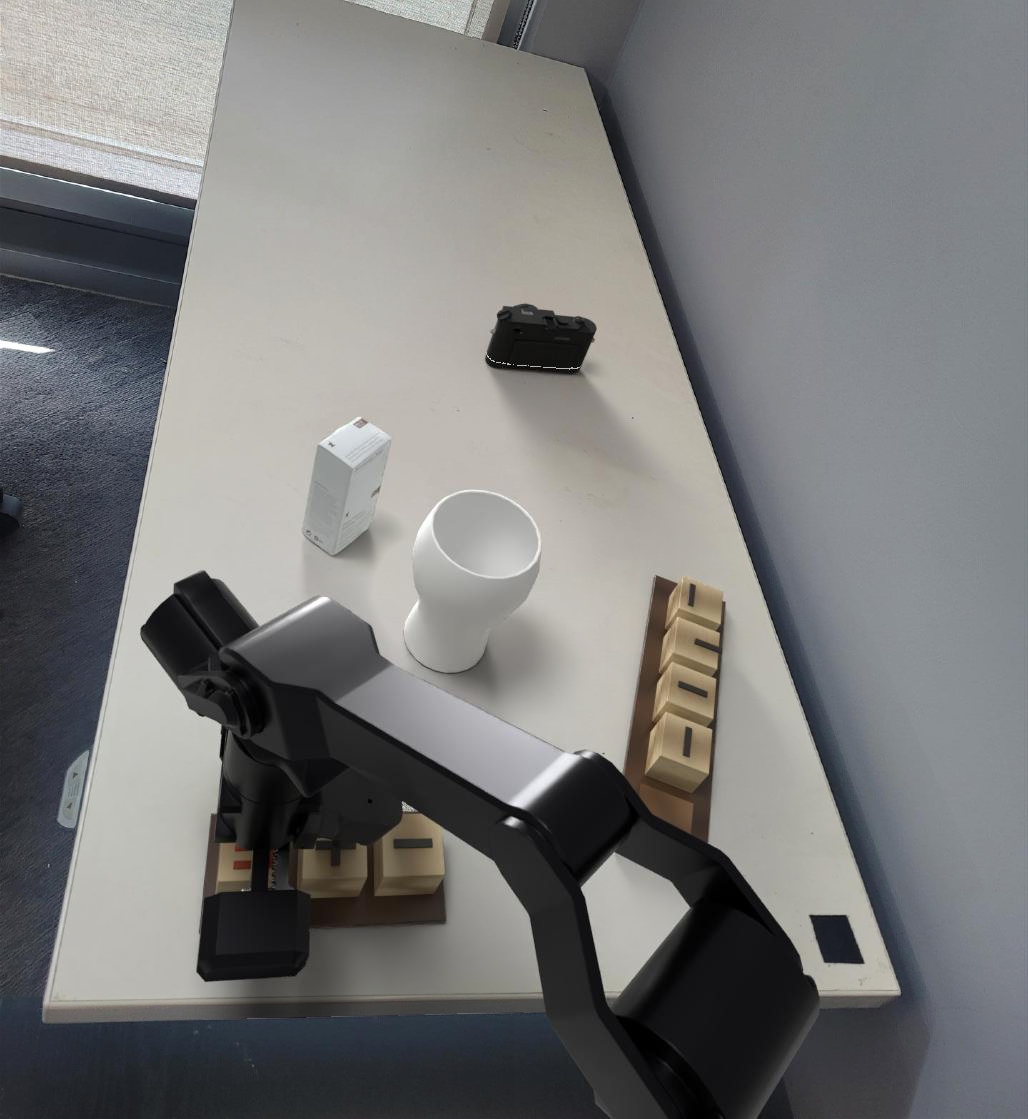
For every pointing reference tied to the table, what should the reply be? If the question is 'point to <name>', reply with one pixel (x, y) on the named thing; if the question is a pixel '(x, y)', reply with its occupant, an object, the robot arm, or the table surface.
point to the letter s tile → (236, 868)
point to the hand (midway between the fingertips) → (251, 864)
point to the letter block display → (677, 704)
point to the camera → (539, 340)
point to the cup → (469, 576)
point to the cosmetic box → (345, 485)
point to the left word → (365, 877)
